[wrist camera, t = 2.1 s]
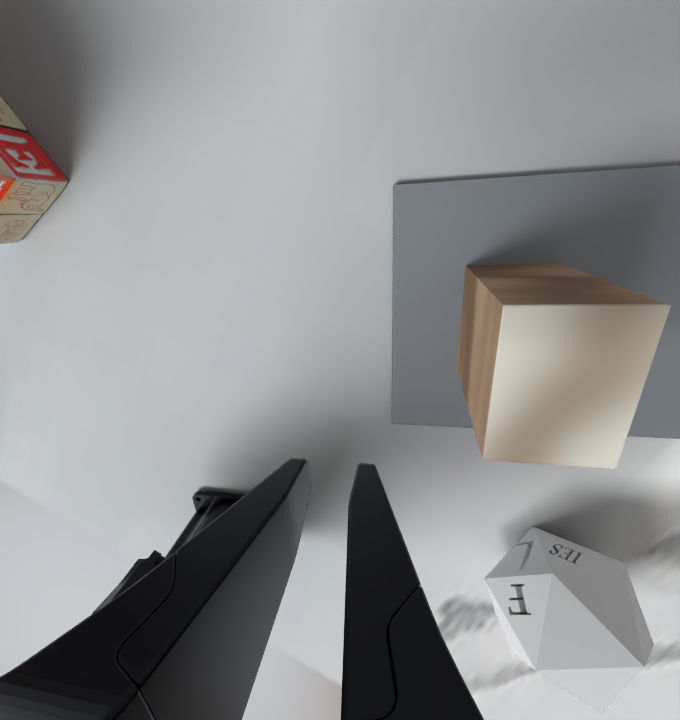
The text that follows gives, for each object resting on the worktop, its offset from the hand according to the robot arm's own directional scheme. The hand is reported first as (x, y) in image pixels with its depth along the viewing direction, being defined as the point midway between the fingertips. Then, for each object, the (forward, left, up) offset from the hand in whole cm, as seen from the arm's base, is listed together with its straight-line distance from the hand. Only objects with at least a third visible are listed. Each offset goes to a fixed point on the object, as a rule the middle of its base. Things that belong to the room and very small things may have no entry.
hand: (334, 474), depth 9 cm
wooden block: (+7, 0, -13) cm, 15 cm away
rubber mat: (+9, 0, -13) cm, 16 cm away
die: (+12, -18, -13) cm, 25 cm away
